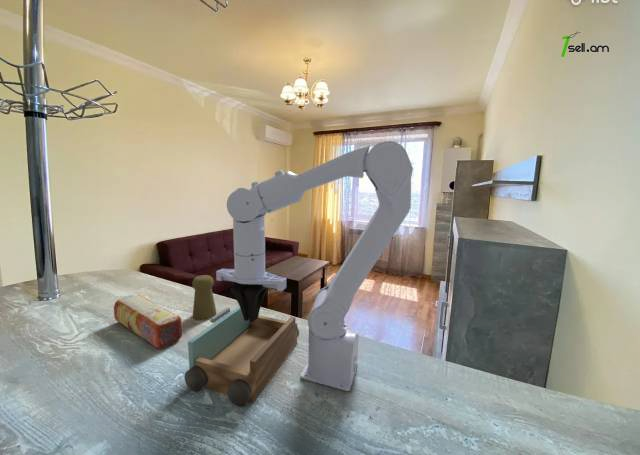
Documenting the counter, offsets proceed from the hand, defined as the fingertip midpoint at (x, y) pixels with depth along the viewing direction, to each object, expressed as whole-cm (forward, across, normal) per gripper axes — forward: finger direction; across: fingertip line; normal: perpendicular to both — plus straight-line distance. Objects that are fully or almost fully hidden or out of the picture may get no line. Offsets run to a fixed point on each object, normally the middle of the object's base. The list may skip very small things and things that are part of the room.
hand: (251, 318), depth 52 cm
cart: (+9, 0, 0) cm, 9 cm away
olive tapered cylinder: (+10, +23, -12) cm, 28 cm away
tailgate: (+7, +7, 0) cm, 10 cm away
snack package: (+10, +30, -1) cm, 32 cm away
